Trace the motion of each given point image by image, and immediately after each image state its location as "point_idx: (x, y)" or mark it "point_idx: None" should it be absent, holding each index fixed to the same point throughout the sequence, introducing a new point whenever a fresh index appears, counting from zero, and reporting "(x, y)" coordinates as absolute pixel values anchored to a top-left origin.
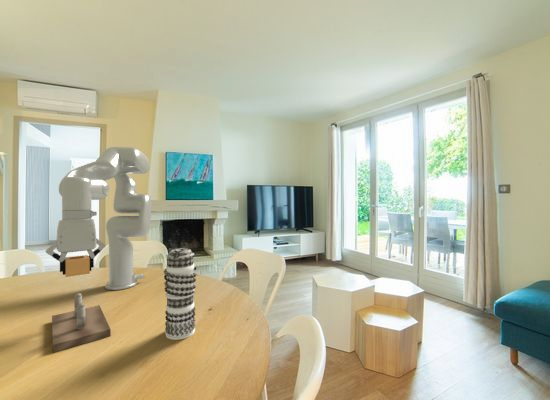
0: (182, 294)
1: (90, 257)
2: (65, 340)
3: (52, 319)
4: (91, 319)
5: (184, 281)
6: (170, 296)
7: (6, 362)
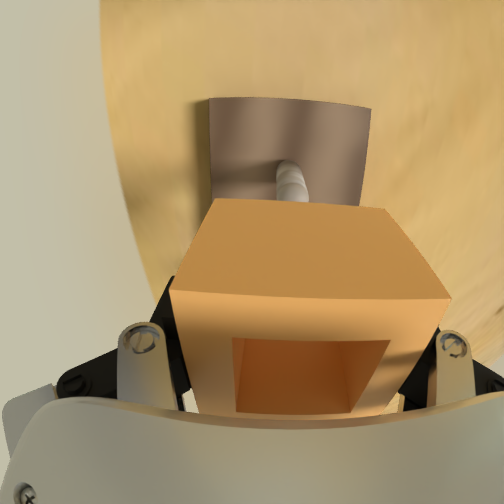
0: None
1: (406, 384)
2: None
3: (211, 138)
4: None
5: None
6: None
7: (149, 279)
